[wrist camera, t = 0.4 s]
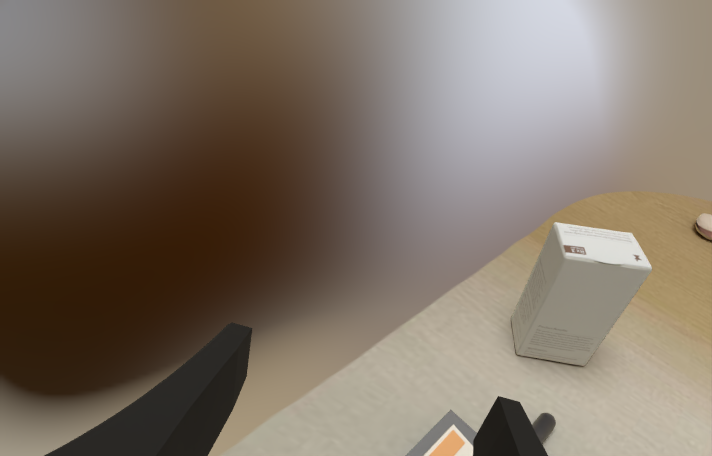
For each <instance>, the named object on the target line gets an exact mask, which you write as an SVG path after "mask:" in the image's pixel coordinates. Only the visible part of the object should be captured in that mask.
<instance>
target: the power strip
mask: <svg viewBox="0 0 712 456" xmlns="http://www.w3.org/2000/svg"><path fill="white" fill-rule="evenodd" d="M453 424H454V425H455V427H456V428H457V429H458V430H459V431H460V432H461V433H462V434H463V436H464V437H465V438H466V439H467V440H468V441H469V442H470V443H471V445H472V446H473V440H474V438H475V436H476V435H477V433H476V432H475V431H474V430H473V429H472V428H470V427H469V426H468V425H467V424H466V423H465V422H464V421H463V420H462V419H461V418H459V417H458V416H457V415H456V414H455V413H454V412H453V411H452V410H450V411H449V412H448V413H447V414H446V415H445V416H444V417H443V418H442V419H441V420H440V421H439V422H438V423H437V424H436V425H435V426H434V427H433V428H432V429H431V430H430V431H429V432H428V433H427V434H426V435H425V436H424V437H423V438H422V439H421V440H420V441H419V443H418V444H417V445H416V446H415V447H414V448H413V449H412V450H411V451H410V452H409V453H408V454H407V455H406V456H423V455H424V454H425V453H426V452H427V451H428V450H429V449H430V448H431V446H432V445H433V444H434V443H435V442H436V441H437V440H438V439H439V438H440V437H441V436H442V435H443V434H444V433H445V432H446V431H447V430H448V429H449V428H450V427H451V426H452V425H453ZM555 424H556V422H555V419H554V417H553V416H552V415H551V414H549V413H542V414H541V415H540V416H539V417H538V418H537V420H536V421H535V422H534V423H533V425H532V426H533V428H534V430H535V432H536V434H537V436H538V438H539V440H540V442H541V443H543V442H544V441H545V439H546V438H547V437H548V435H549V434H550V433H551V431H552V430H553V428H554V427H555Z"/></svg>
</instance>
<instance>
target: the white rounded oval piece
mask: <svg viewBox="0 0 712 456" xmlns="http://www.w3.org/2000/svg"><path fill="white" fill-rule="evenodd" d="M695 227H696V230H697V231H698V232H699V233H700V234H701V235H702V236H703V237H705V238H707V239H709V240H712V215H710V214H705V213H703V214H701V215H700V216H699V217H698V218H697V220H696V224H695Z"/></svg>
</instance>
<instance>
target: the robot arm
mask: <svg viewBox="0 0 712 456" xmlns="http://www.w3.org/2000/svg"><path fill="white" fill-rule="evenodd" d="M251 334H252V328H249V327H245V326H242V325H238V324H235V323H230V324H228V325H227V326H226V327H225V328H224V329H223V330H222V331H221V332H220V333H219V334H218V335H217V336H215V338H213V339H212V340H211V341H210V342H209V343H208V344H207V345H206V346H204V347H203V348H202V349H201V350H200V351H199V352H198V353H196V354H195V355H194V356H193V357H192V358H191V359H189V360H188V361H187V362H186V363H185V364H183V365H182V366H181V367H180V368H179V369H177V370H176V371H175V372H174V373H172V374H171V375H170V376H169V377H167V378H166V379H165V380H163V381H162V382H161V383H159V384H158V385H157V386H155V387H154V388H153V389H151V390H150V391H149V392H147V393H146V394H145V395H143V396H142V397H140V398H139V399H138V400H136V401H135V402H133V403H132V404H130V405H129V406H127V407H126V408H124V409H123V410H121V411H120V412H118V413H117V414H116V415H114V416H112V417H111V418H109V419H107V420H106V421H104V422H103V423H101V424H99V425H98V426H96V427H94V428H93V429H91V430H89V431H88V432H86V433H84V434H83V435H81V436H79V437H78V438H76V439H74V440H72V441H71V442H69V443H67V444H65V445H63V446H62V447H60V448H58V449H56V450H54V451H52V452H50V453H49V454H46V455H45V456H208V454H209V452H210V450H211V449H212V447H213V444H214V443H215V441H216V439H217V438H218V436H219V434H220V432H221V430H222V428H223V427H224V425H225V423H226V421H227V419H228V417H229V416H230V414H231V412H232V410H233V407H234V405H235V403H236V401H237V398H238V396H239V394H240V391H241V389H242V386H243V384H244V381H245V379H246V376H247V367H248V359H249V351H250V342H251ZM473 456H548V455H547V453H546V451H545V449H544V447H543V445H542V443H541V442H540V440H539V438H538V436H537V434H536V432H535V430H534V428H533V426H532V424H531V422H530V421H529V419H528V417H527V415H526V413H525V411H524V409H523V407H522V405H521V404H520V402H518V401H514V400H510V399H507V398H503V397H499V396H498V398H497V399H496V401H495V403H494V405H493V406H492V408H491V410H490V412H489V413H488V415H487V417H486V419H485V420H484V422H483V424H482V426H481V428H480V429H479V431H478V433H477V435H476V436H475V438H474V440H473Z"/></svg>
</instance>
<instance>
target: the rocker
mask: <svg viewBox="0 0 712 456" xmlns="http://www.w3.org/2000/svg"><path fill="white" fill-rule="evenodd" d="M423 456H473V446H472V445H471V443H470V442H469V441H468V440H467V439H466V438H465V437H464V436H463V434H462V433H461V432H460V431H459V430H458V429H457V428H456V427H455V425H454V424H453V425H452V426H451V427H450V428H449V429H448V430H447V431H446V432H445V433H444V434H443V435H442V436H441V437H440V438H439V439H438V440H437V441H436V442H435V443H434V444H433V445H432V446H431V448H430V449H429V450H428V451H427V452H426V453H425V454H424V455H423Z"/></svg>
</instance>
